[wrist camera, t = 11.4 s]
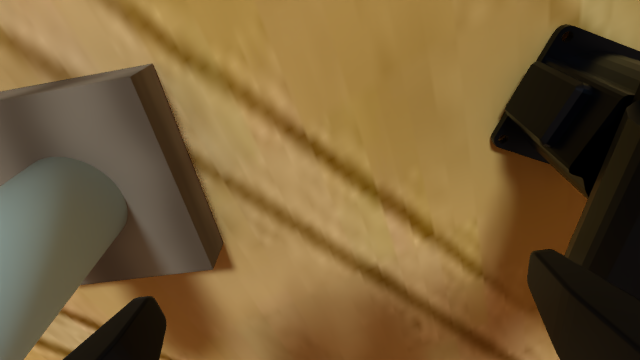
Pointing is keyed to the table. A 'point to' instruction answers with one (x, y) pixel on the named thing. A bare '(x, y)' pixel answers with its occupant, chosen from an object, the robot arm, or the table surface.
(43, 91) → the grey square slab
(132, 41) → the table surface
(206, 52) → the table surface
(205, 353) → the table surface
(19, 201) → the sage wooden pillar
